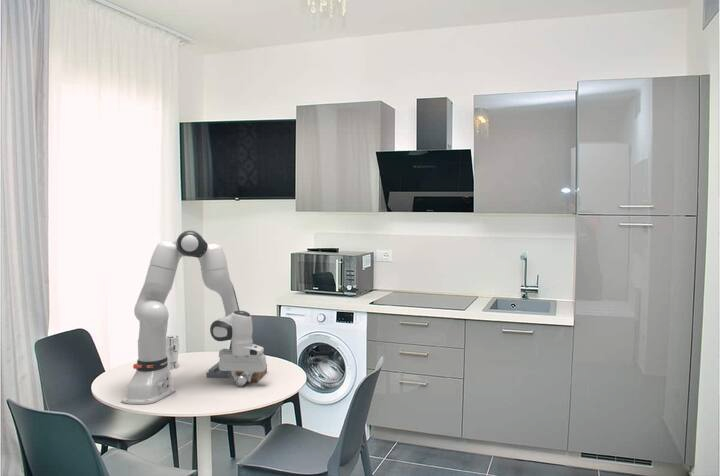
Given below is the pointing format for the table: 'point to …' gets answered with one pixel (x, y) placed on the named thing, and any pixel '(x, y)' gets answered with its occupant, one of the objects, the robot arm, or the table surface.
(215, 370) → the v block
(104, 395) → the table surface
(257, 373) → the wooden channel cradle
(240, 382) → the axle
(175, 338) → the beer glass
